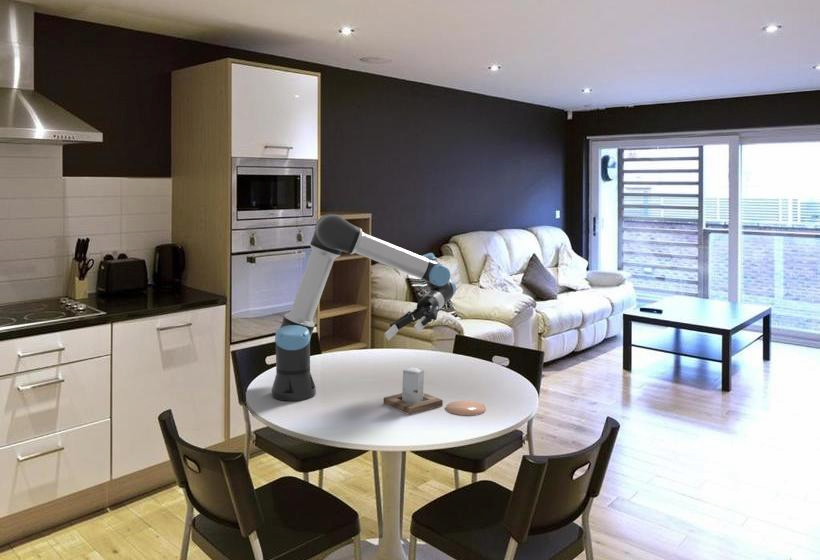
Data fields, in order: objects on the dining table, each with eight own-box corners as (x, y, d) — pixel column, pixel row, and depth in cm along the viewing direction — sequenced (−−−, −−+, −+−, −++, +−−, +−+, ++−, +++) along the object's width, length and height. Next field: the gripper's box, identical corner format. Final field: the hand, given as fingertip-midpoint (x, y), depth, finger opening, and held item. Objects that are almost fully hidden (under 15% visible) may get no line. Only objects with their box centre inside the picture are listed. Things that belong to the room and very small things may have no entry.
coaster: (437, 407, 217) (437, 405, 217) (466, 399, 225) (466, 398, 225) (465, 418, 207) (465, 416, 207) (494, 409, 215) (494, 408, 215)
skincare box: (401, 405, 220) (401, 369, 218) (408, 401, 223) (408, 366, 222) (417, 408, 217) (417, 372, 215) (424, 404, 220) (424, 369, 219)
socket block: (383, 403, 221) (383, 397, 221) (415, 395, 230) (415, 389, 229) (409, 414, 210) (409, 408, 210) (442, 405, 219) (442, 399, 219)
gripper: (461, 305, 234) (434, 335, 218) (409, 320, 249) (380, 348, 233) (452, 287, 233) (424, 315, 216) (400, 303, 248) (370, 330, 232)
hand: (401, 333), depth 225 cm, fingers open, 13 cm apart
